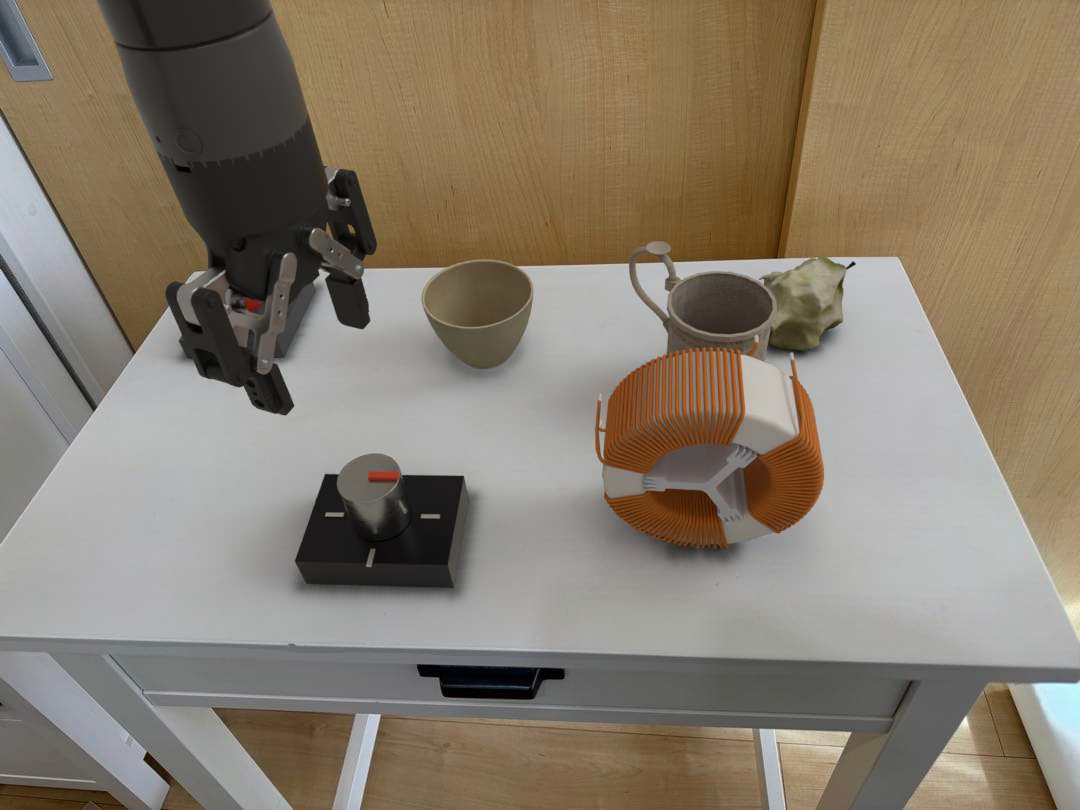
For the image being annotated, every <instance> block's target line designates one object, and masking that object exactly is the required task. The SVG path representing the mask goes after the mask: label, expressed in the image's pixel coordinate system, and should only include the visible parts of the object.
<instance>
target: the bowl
mask: <svg viewBox="0 0 1080 810" xmlns="http://www.w3.org/2000/svg"><path fill="white" fill-rule="evenodd" d="M533 301H534V283H533V281H532V279H531V277H530V276H529V274H527V272H526V271H524V270H523V269H522V268H520V267H519V266H517V265H514V264H512V263H509V262H506V261H503V260H497V259H487V258H486V259H485V258H484V259H472V260H471V259H470V260H465V261H462V262H457V263H455V264H452V265H450V266H448V267H447V266H446V267H445V268H443V269H442V270H440V271H439V272H437V273H436V274H434V275H433V276H432V277H431V278H430V279H428V281H427V283H426V284H425V286H424V287H423V289H422V292H421V305H422V308H423V310H424V313H425V317H426V319H427V320H428V323H429V324H430V327H431V328H432V329H433V331H434V333H435V335H436V336H437V338H438V339H439V340H440V342H441V343H442V344H443V345H444V346H445V347H446V349H447V350H448V351H449V352H450V353H451V354H452V355H453V356H454V357H456V358H457V359H458V360H459V361H461V362H462V363H463V364H465V365H466V366H468V367H471V368H474V369H479V370H488V369H492V368H495V367H499V366H501V365H503V364H504V363H505V362H507V361H508V360H509V358H511V356H512V355H513V354H514V352H515V351H516V349H517V347H518V346H519V345H520V343H521V340H522V339H523V336H524V334H525V332H526V330H527V328H528V327H527V326H528V324H529V320H530V317H531V313H532V307H533V303H534V302H533Z"/></svg>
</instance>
